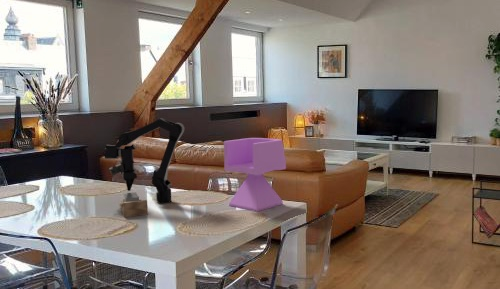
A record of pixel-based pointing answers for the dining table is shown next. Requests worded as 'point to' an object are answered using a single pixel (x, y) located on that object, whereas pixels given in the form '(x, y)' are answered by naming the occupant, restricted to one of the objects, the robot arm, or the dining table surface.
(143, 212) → the stop wall
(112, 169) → the robot arm
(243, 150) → the chair
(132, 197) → the slab
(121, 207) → the roller bed
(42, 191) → the dining table surface
